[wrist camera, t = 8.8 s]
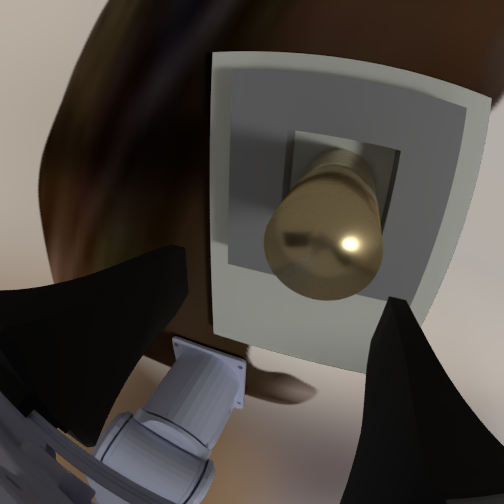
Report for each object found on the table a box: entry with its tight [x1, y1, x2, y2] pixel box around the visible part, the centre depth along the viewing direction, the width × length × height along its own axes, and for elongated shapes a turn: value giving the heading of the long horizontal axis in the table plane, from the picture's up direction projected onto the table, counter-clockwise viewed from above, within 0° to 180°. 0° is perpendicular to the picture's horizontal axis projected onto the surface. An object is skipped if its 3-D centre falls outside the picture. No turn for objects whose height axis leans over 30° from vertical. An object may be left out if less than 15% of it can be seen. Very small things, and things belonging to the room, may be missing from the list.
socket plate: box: [210, 51, 492, 374], centre depth 18 cm, size 22×16×3 cm
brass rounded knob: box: [264, 149, 383, 301], centre depth 13 cm, size 4×4×8 cm
